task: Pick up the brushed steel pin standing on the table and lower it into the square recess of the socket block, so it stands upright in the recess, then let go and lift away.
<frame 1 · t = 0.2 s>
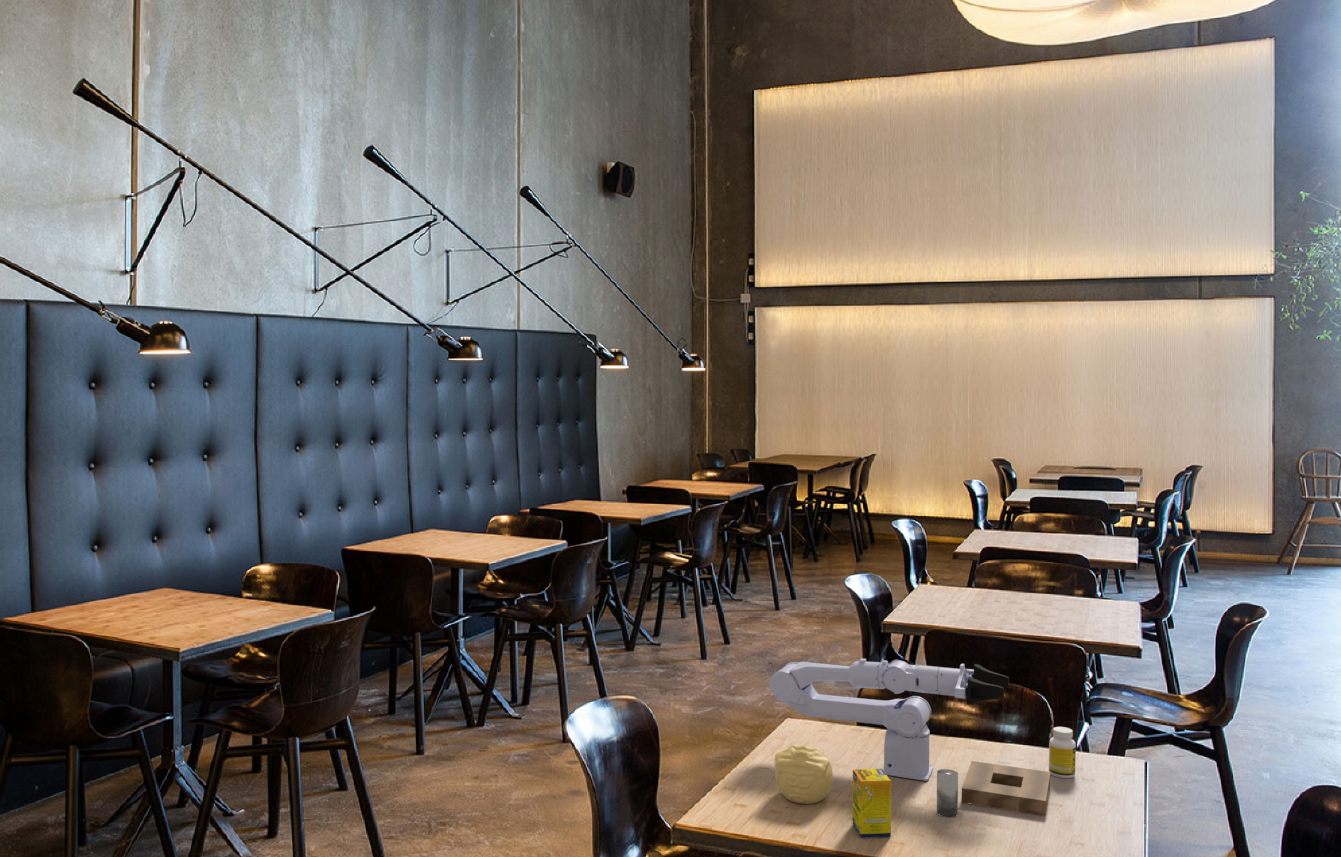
hand: (1006, 687, 212), 21 cm above the table, tool horizontal, fingers open, 7 cm apart
supplement box: (871, 832, 193), on the table
socket block: (1006, 794, 210), on the table
sculpture: (803, 798, 208), on the table
supplement bottle: (1061, 775, 220), on the table
steel pin: (947, 812, 201), on the table
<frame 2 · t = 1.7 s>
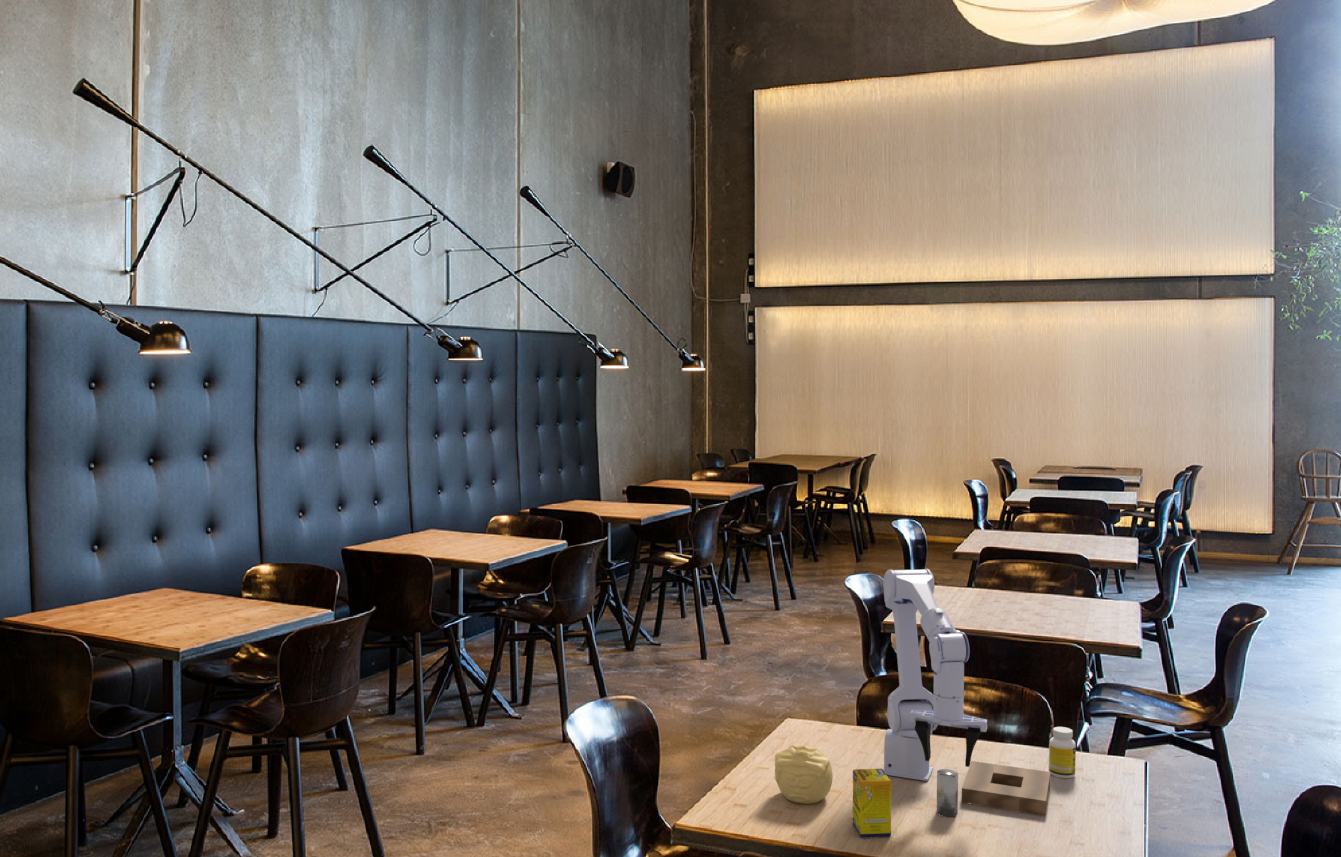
hand: (947, 762, 200), 10 cm above the table, tool pointing down, fingers open, 7 cm apart
nothing on the table moved.
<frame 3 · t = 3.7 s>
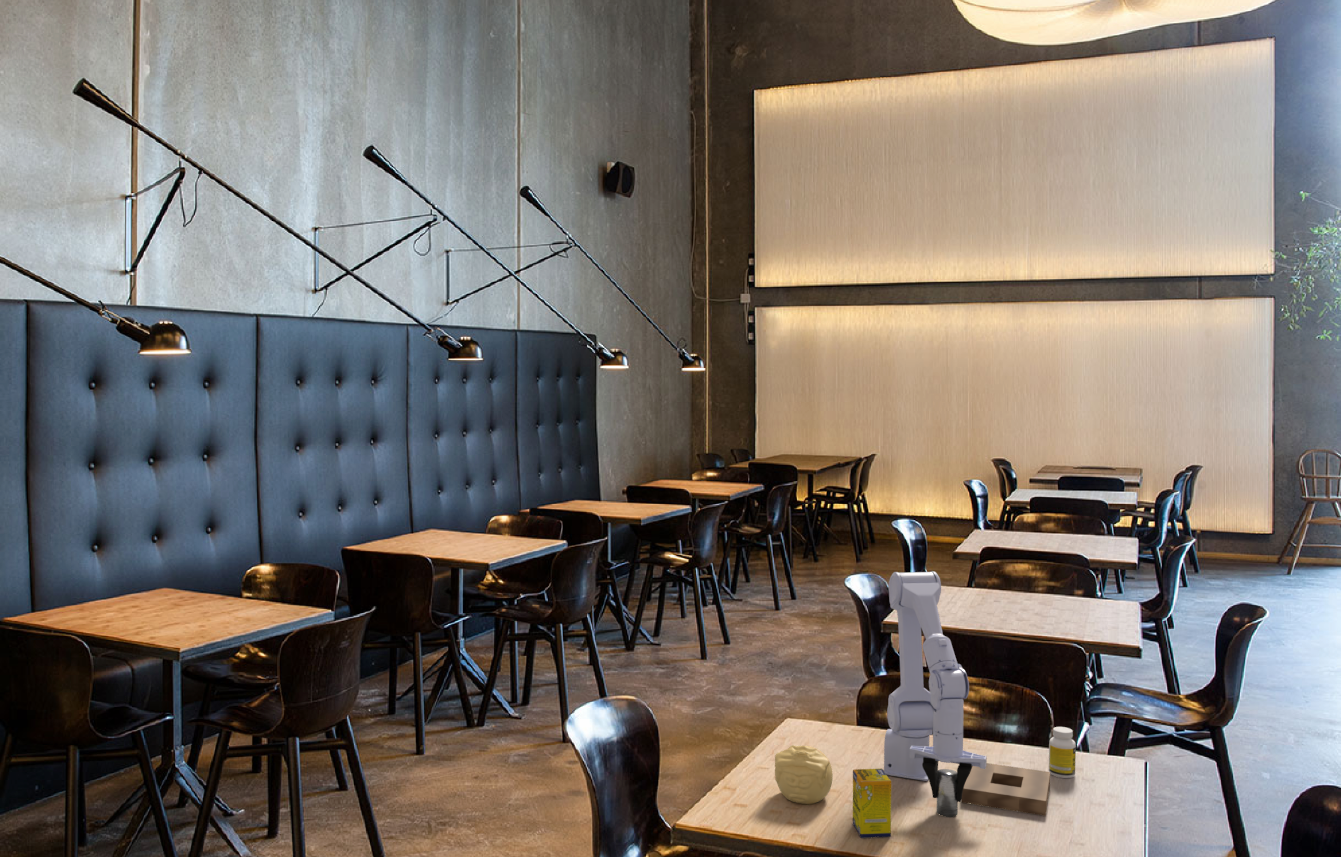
hand: (947, 798, 201), 3 cm above the table, tool pointing down, fingers closed on steel pin, 4 cm apart
steel pin: (947, 812, 201), on the table, touching gripper
everything else where it was.
when the fingers open (4 cm above the table, at t = 9.8 s): steel pin stays where it is, resting on socket block.
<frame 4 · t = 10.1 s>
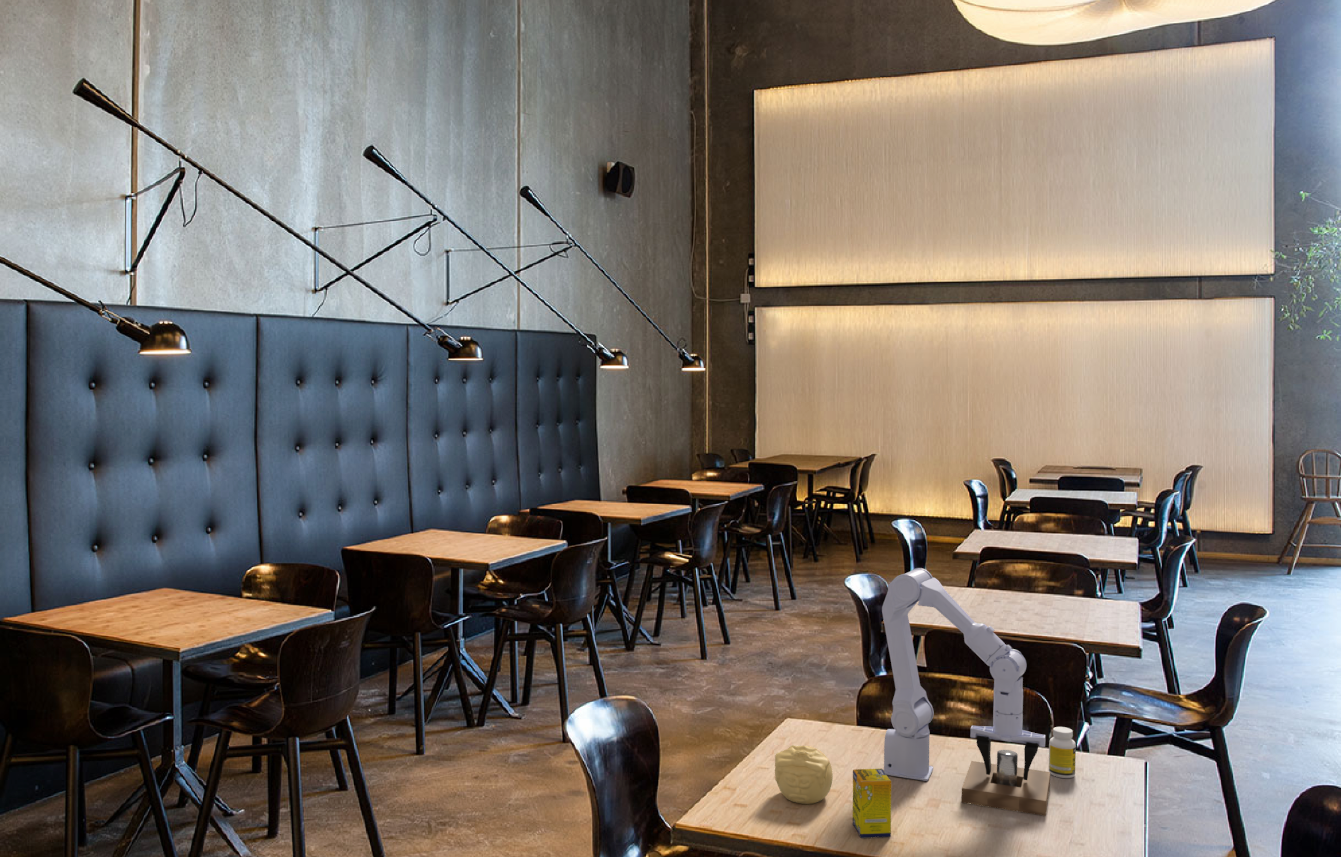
hand: (1006, 775, 209), 4 cm above the table, tool pointing down, fingers open, 7 cm apart
steel pin: (1006, 791, 210), point 1 cm above the table, touching socket block
everything else where it was.
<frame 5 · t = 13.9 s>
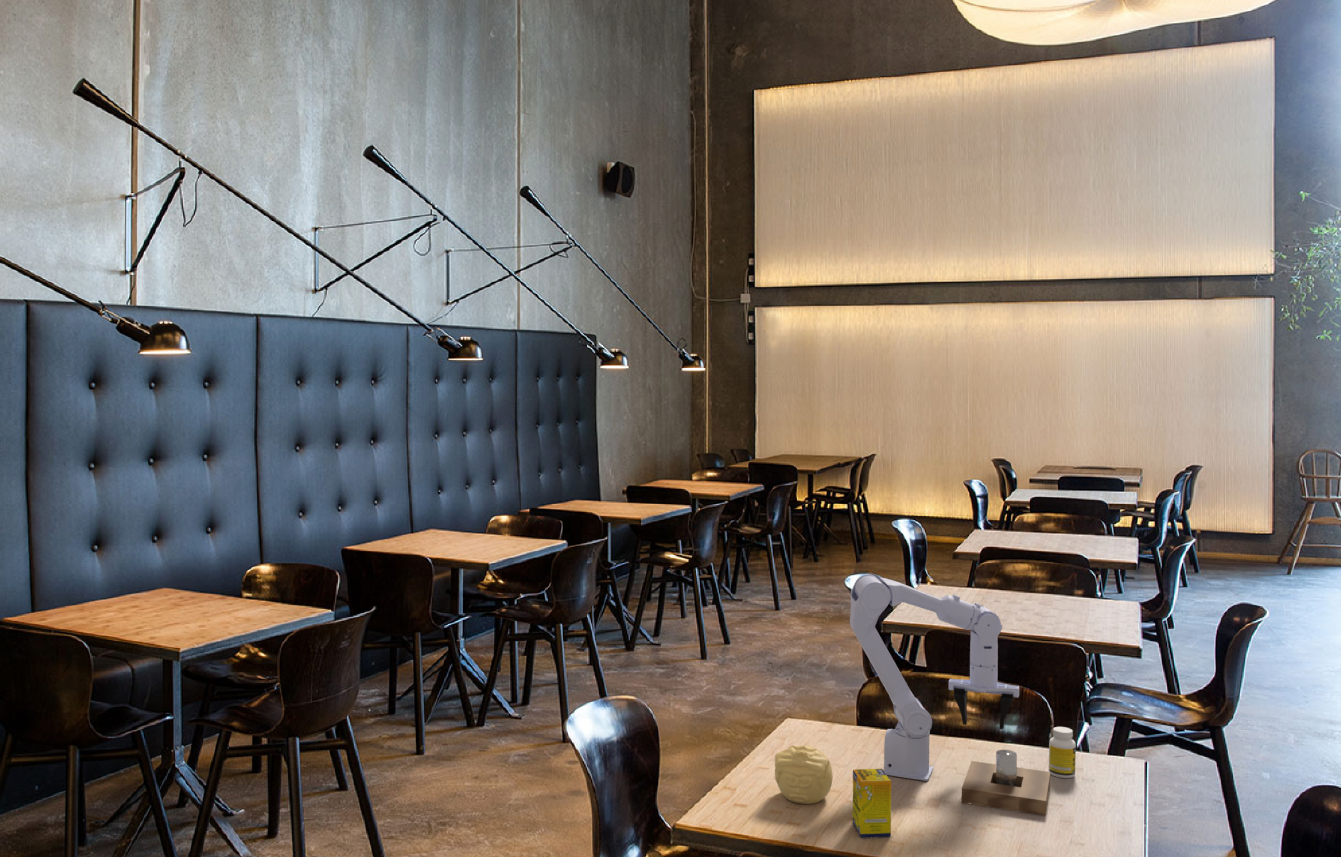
hand: (983, 725, 221), 10 cm above the table, tool pointing down, fingers open, 7 cm apart
nothing on the table moved.
at the end: steel pin 0.0 cm off-centre on the socket block, point 0.6 cm above the socket block's base; steel pin tilted 1°; the gripper is holding nothing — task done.
